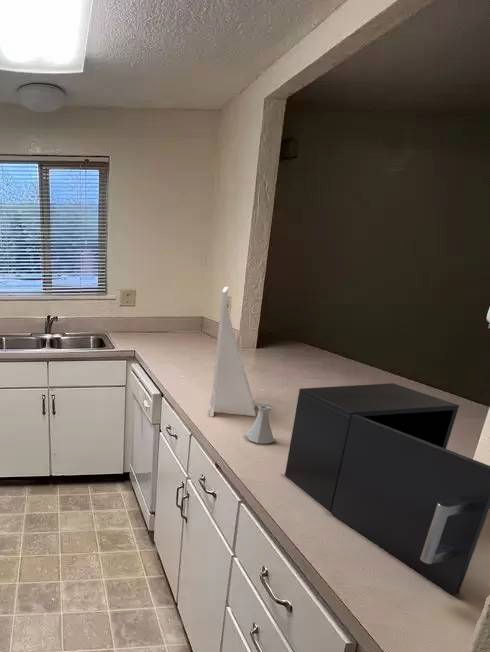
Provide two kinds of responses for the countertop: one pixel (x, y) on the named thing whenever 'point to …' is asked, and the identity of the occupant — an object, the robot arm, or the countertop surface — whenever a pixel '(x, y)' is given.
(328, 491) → the mini fridge
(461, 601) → the countertop surface
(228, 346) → the white bracket plate
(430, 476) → the fridge door
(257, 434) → the flask
